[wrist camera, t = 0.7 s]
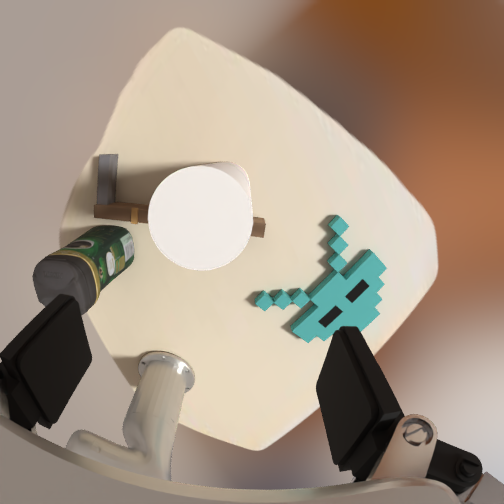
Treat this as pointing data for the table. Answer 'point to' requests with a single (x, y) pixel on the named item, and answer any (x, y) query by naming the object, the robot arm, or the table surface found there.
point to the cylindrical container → (202, 215)
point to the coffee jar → (84, 266)
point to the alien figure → (335, 294)
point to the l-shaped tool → (131, 211)
